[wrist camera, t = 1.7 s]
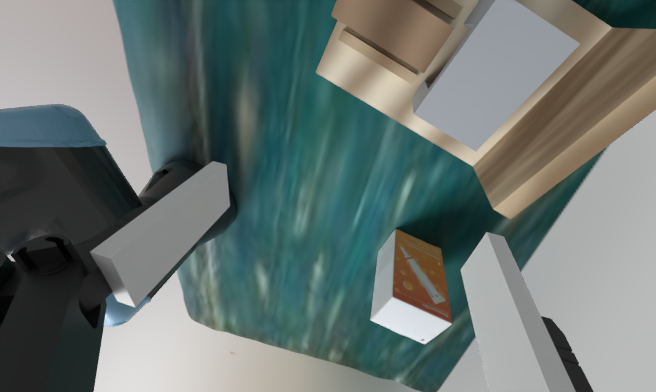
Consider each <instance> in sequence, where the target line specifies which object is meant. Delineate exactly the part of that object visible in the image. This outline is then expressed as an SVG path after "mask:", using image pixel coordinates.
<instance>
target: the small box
mask: <svg viewBox="0 0 656 392" xmlns="http://www.w3.org/2000/svg"><path fill="white" fill-rule="evenodd" d="M370 320H371V321H373V322H375V323H378V324H380V325H382V326H384V327H386V328H389V329H391V330H392V331H394V332H396V333H399V334H401V335H404V336H407V337H409V338H411V339H414V340H416V341H418V342H420V343H422V344H426V343H427V342H429V341H430V340H432V339H433V338H434V337H436V336H437V335H438V334H440V333H441V332H442V331H444V330H445V329H446V328H448V327H449V326H450V325H452V318H451V311H450V305H449V298H448V291H447V285H446V278H445V271H444V265H443V259H442V252H441V248H438V247H436V246H433V245H431V244H429V243H426V242H424V241H422V240H420V239H417V238H415V237H413V236H411V235H409V234H406V233H404V232H402V231H400V230H398V229H395V230H394V231H393V233H392V234H391V235H390V237H389V238H388V240H387V241H386V242H385V244H384V245H383V246H382V248H381V249H380V250H379V252H378V259H377V267H376V276H375V285H374V294H373V303H372V311H371V318H370Z"/></svg>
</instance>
